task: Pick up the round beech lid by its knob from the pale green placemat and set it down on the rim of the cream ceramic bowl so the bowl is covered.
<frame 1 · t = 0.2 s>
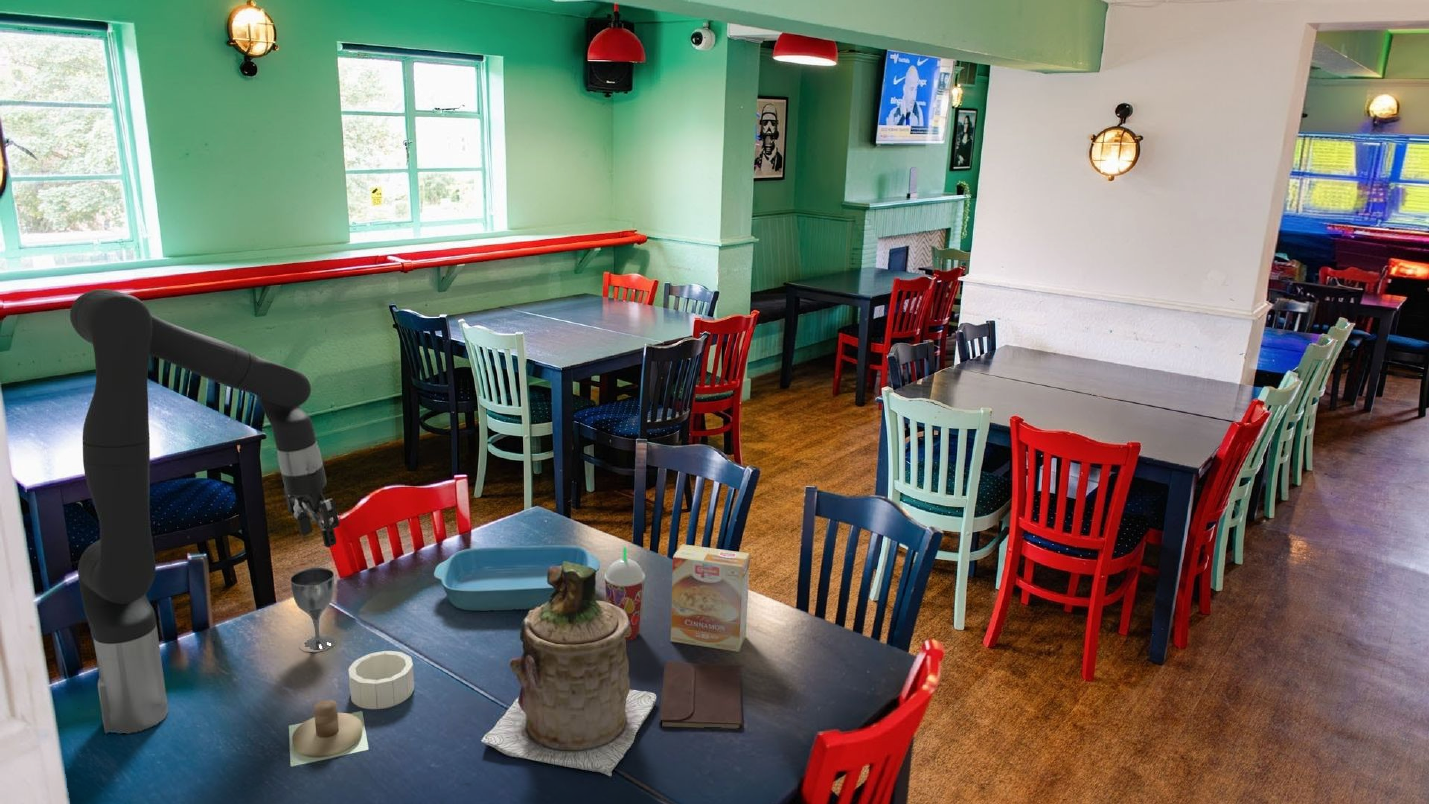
hand: (318, 539, 188), 22 cm above the table, tool pointing down, fingers open, 8 cm apart
wine glass: (318, 644, 192), on the table
casserole dish: (518, 594, 217), on the table
lid: (328, 737, 161), point 1 cm above the table, touching mat
coffeecake box: (708, 640, 199), on the table
bowl: (382, 695, 175), on the table
mat: (328, 741, 162), on the table
cookie jar: (573, 726, 169), on the table
notebook: (701, 699, 179), on the table
smoothie: (624, 635, 200), on the table
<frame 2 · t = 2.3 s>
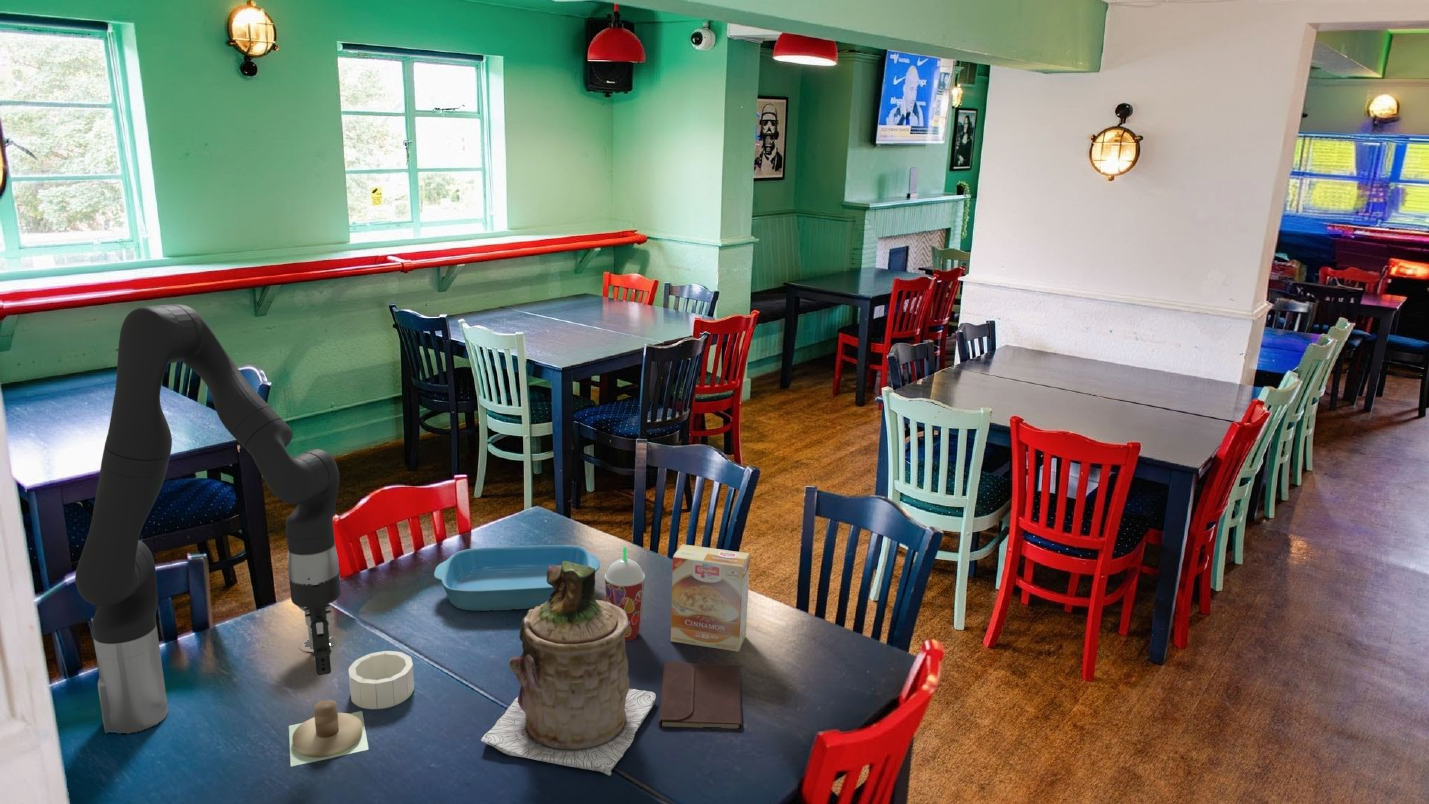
hand: (322, 660, 158), 15 cm above the table, tool pointing down, fingers open, 8 cm apart
nothing on the table moved.
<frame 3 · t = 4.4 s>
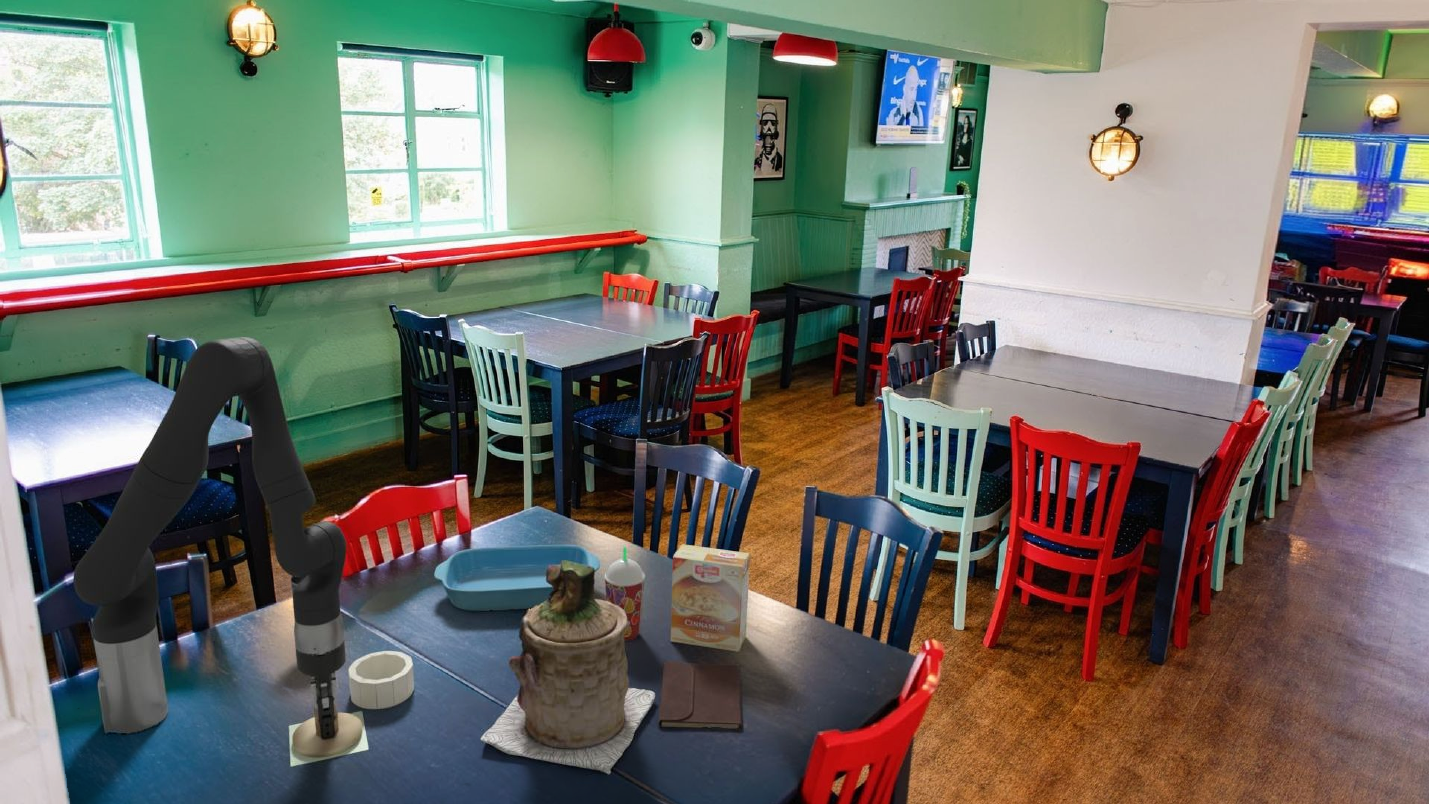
hand: (327, 730, 161), 2 cm above the table, tool pointing down, fingers closed on lid, 3 cm apart
lid: (328, 737, 161), point 1 cm above the table, touching gripper, mat
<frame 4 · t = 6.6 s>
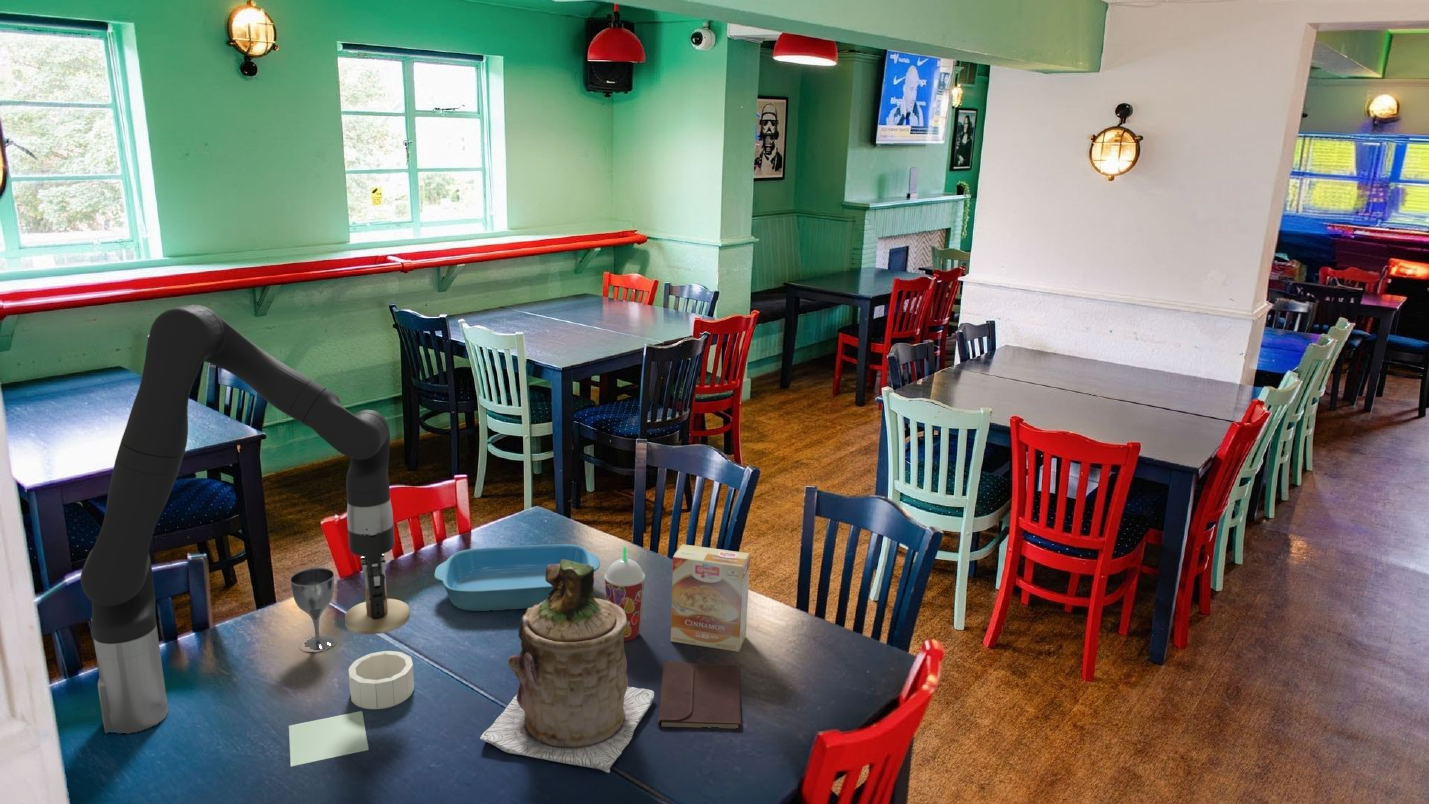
hand: (376, 612, 170), 17 cm above the table, tool pointing down, fingers closed on lid, 3 cm apart
lid: (377, 618, 171), point 16 cm above the table, touching gripper
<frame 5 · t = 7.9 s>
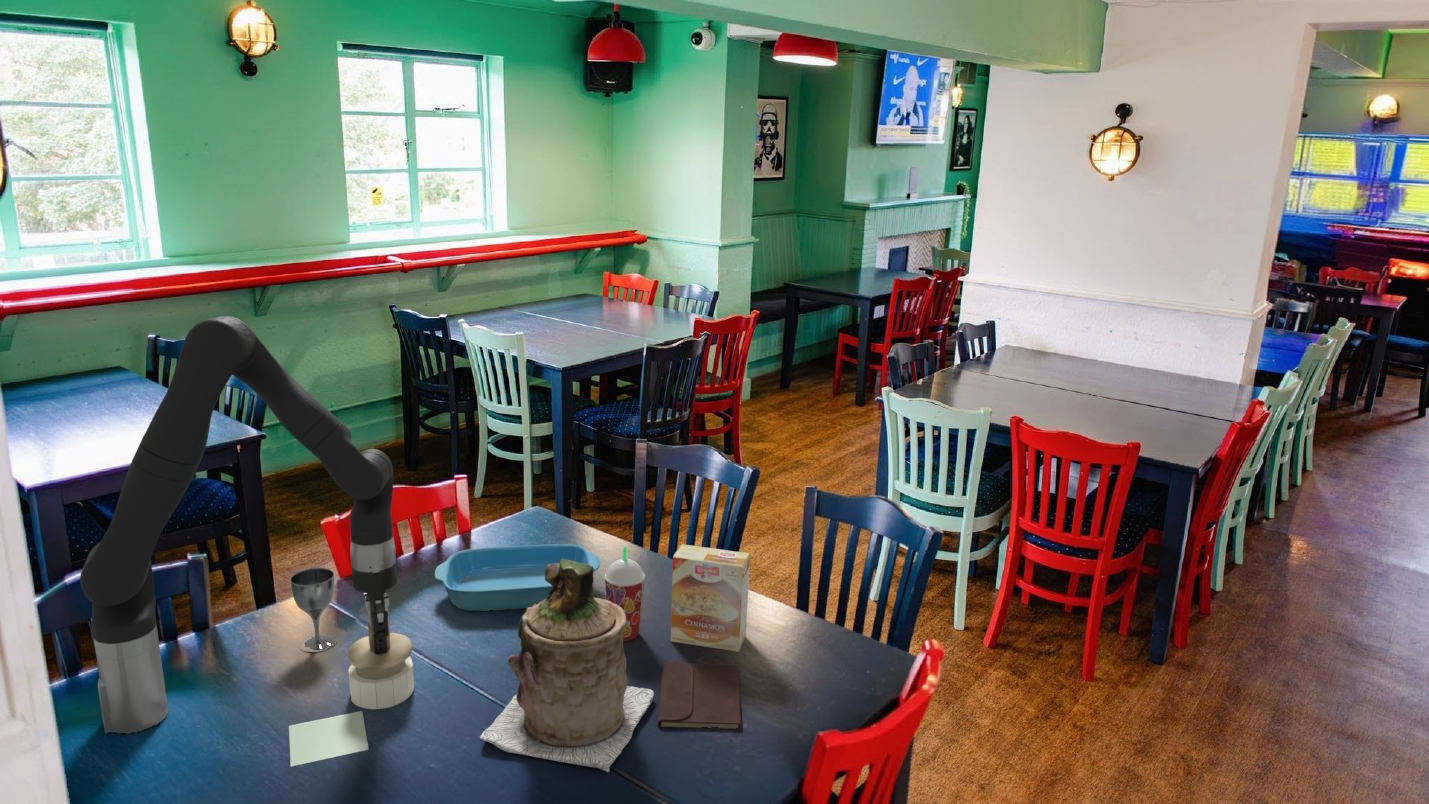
hand: (379, 647, 173), 10 cm above the table, tool pointing down, fingers closed on lid, 3 cm apart
lid: (380, 653, 173), point 9 cm above the table, touching gripper
when the fingers open (9 cm above the table, at t = 8.9 s): lid drops 1 cm, resting on bowl.
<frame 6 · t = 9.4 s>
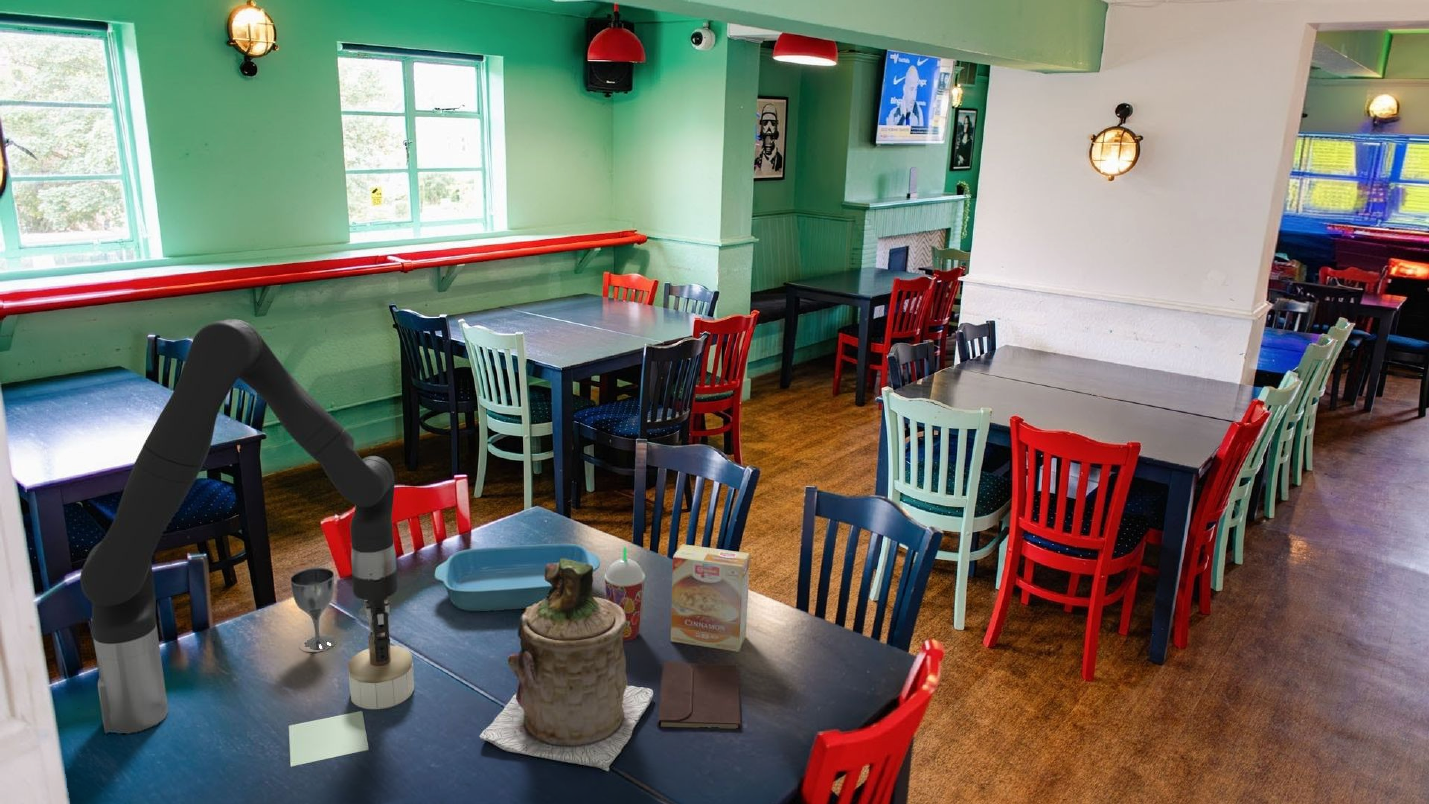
hand: (379, 649, 173), 10 cm above the table, tool pointing down, fingers open, 8 cm apart
lid: (380, 666, 174), point 6 cm above the table, touching bowl
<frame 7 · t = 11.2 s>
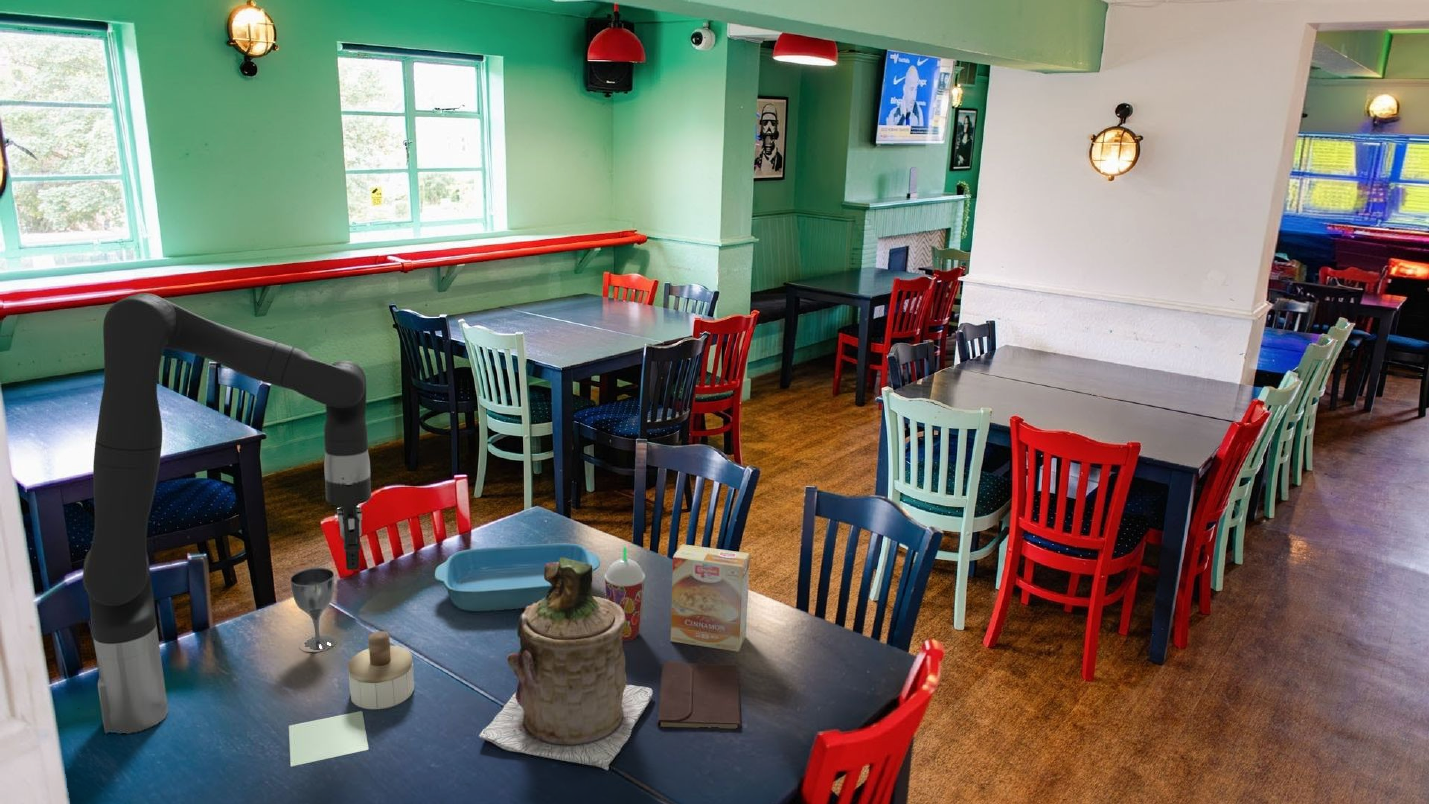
hand: (351, 559, 171), 26 cm above the table, tool pointing down, fingers open, 8 cm apart
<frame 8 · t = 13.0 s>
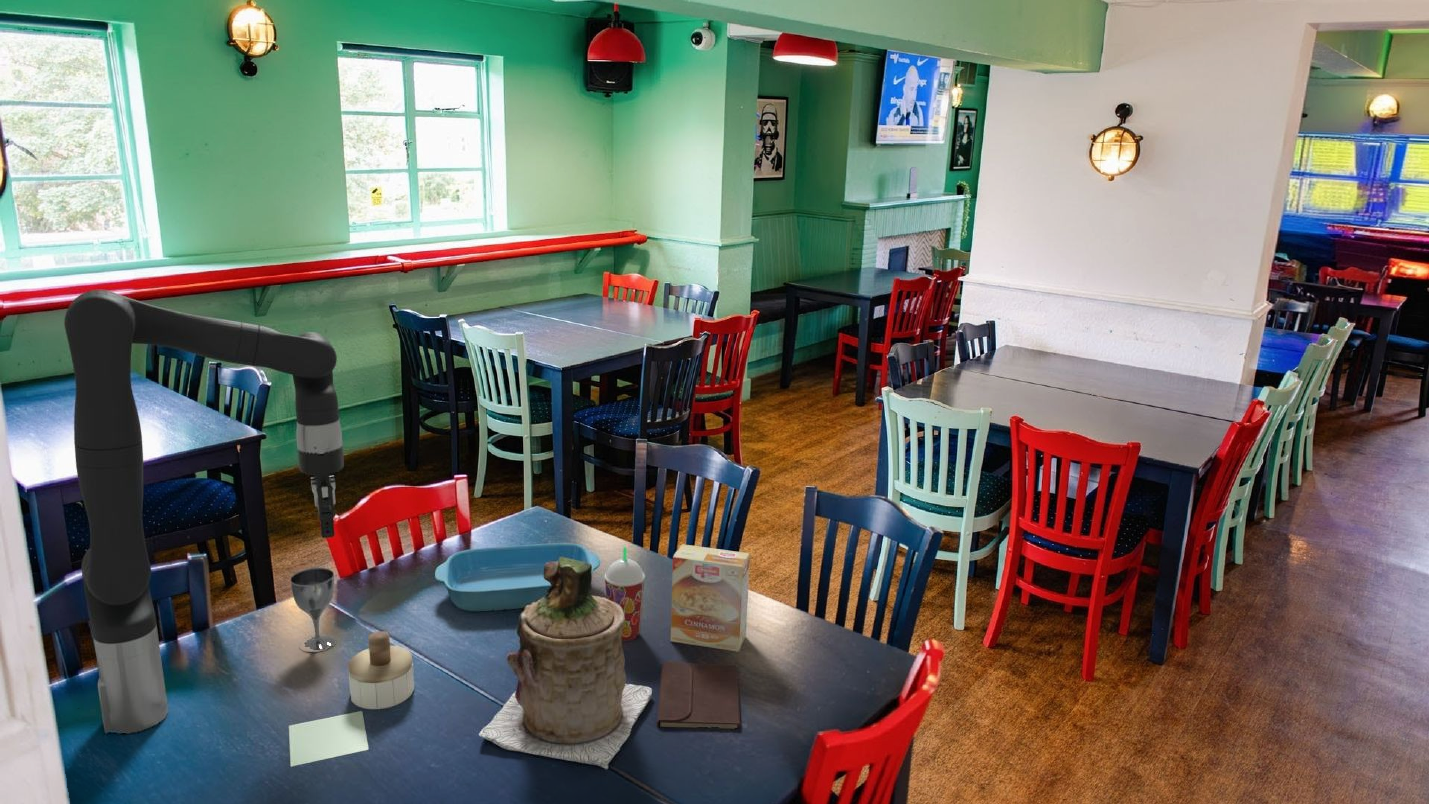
hand: (326, 528, 174), 30 cm above the table, tool pointing down, fingers open, 8 cm apart
at the end: lid 0.0 cm off-centre on the bowl, point 6.0 cm above the bowl's base; lid tilted 0°; the gripper is holding nothing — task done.
